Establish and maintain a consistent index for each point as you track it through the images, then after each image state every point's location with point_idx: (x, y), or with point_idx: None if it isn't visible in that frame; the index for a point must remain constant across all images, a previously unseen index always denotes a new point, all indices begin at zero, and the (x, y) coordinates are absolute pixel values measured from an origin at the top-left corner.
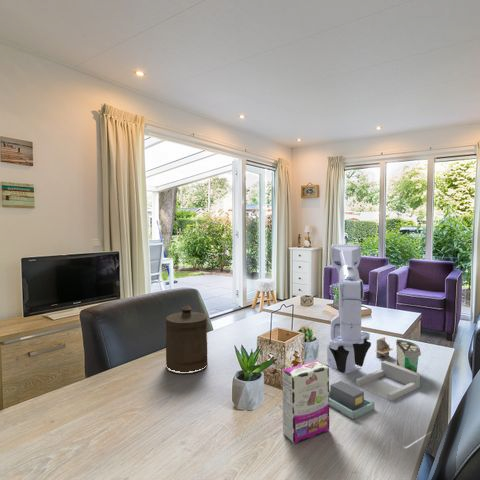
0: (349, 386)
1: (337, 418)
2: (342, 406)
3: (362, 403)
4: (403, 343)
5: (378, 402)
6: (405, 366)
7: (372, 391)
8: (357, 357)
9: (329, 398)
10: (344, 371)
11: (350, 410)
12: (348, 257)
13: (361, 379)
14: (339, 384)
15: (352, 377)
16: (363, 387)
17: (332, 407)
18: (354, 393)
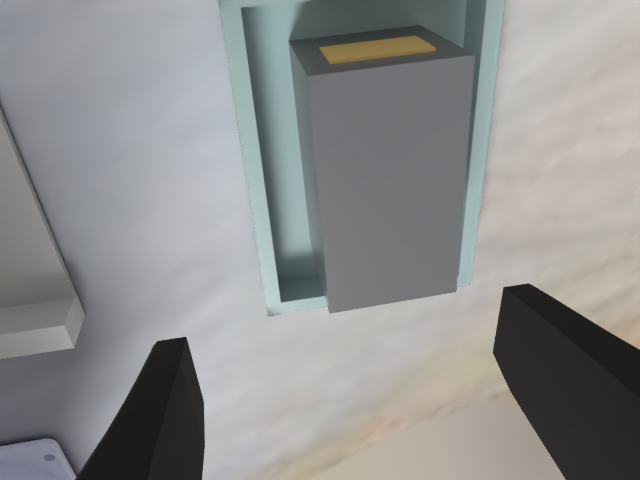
0: (346, 214)
1: (549, 38)
2: (493, 86)
3: (310, 47)
4: None
5: (88, 54)
6: None
7: (24, 197)
8: (188, 475)
9: (470, 213)
10: (525, 294)
11: (497, 5)
12: None
13: (32, 330)
14: (389, 272)
15: (35, 395)
16: (57, 268)
17: None
18: (417, 94)
